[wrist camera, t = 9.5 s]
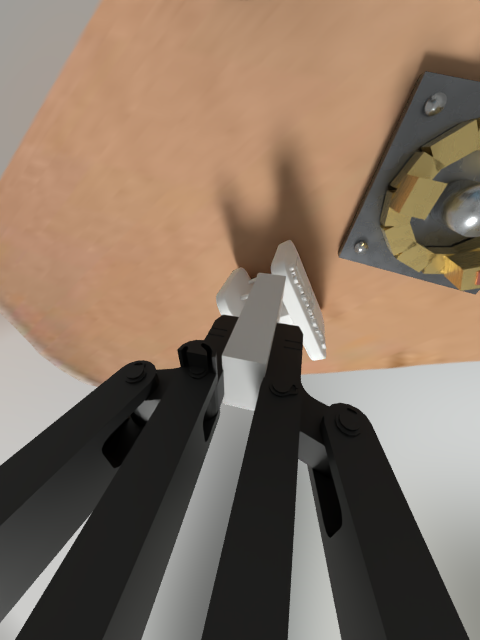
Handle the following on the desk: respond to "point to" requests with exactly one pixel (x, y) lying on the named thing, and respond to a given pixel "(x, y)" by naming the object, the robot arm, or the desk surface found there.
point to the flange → (461, 177)
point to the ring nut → (418, 200)
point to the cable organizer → (296, 298)
